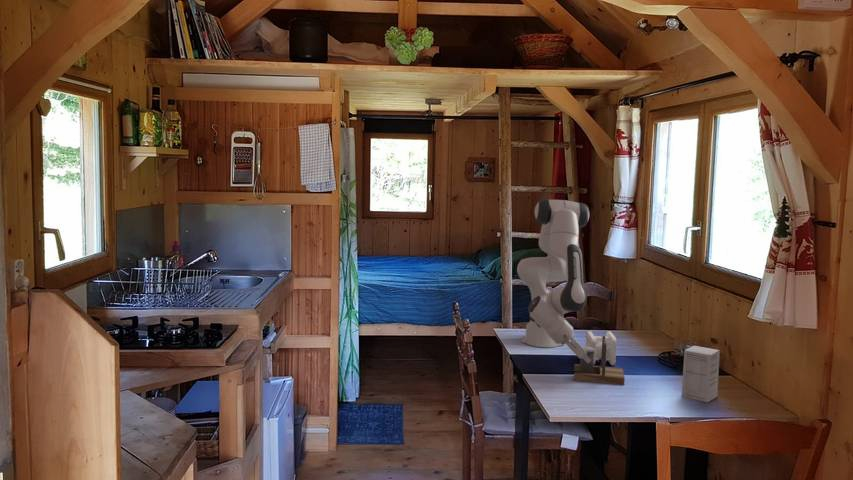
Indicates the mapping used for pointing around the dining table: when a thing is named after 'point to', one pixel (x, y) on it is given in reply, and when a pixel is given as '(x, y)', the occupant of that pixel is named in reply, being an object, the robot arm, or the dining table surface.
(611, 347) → the cable organizer
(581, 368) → the grey mushroom bollard
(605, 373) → the wooden frame
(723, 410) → the dining table surface
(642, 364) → the dining table surface
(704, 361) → the supplement box
